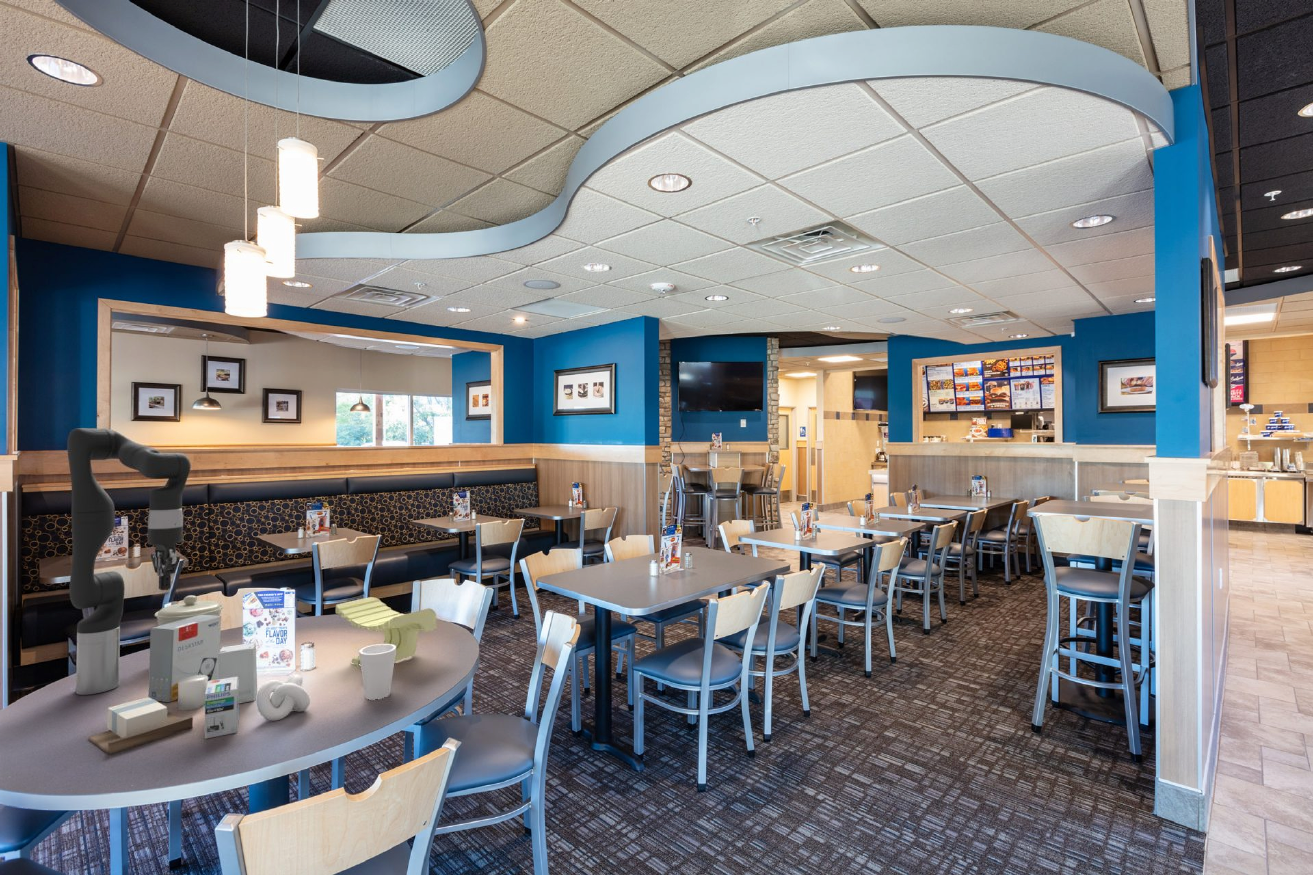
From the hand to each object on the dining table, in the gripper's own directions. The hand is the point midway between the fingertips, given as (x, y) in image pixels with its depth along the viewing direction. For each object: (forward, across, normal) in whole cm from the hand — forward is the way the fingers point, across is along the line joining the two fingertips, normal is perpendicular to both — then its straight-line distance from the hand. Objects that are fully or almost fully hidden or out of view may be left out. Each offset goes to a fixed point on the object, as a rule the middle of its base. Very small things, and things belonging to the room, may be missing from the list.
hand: (164, 589), depth 168 cm
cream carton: (+28, -8, +10) cm, 31 cm away
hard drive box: (+31, +5, -7) cm, 32 cm away
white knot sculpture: (+31, -34, -15) cm, 49 cm away
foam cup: (+31, -44, -35) cm, 64 cm away
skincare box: (+31, -15, -12) cm, 37 cm away
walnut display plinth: (+31, -17, +10) cm, 37 cm away
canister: (+31, +35, -19) cm, 51 cm away
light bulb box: (+31, -30, -2) cm, 43 cm away
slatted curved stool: (+31, -19, -54) cm, 65 cm away
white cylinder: (+31, -8, -4) cm, 32 cm away
